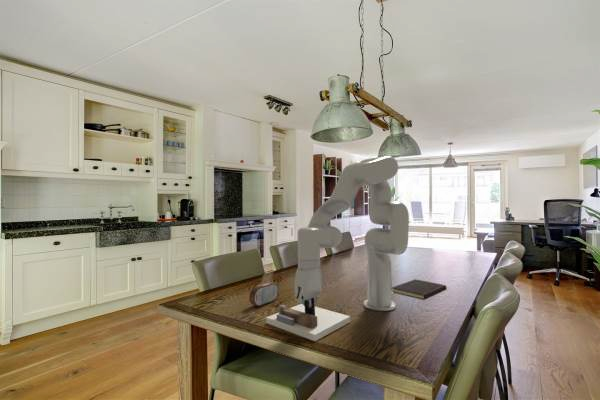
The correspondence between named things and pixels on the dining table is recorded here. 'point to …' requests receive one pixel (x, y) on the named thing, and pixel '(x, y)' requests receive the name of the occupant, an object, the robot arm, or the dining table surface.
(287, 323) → the white flat square panel
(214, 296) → the dining table surface
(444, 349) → the dining table surface
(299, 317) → the folding leg
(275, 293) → the tin
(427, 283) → the hardcover book
